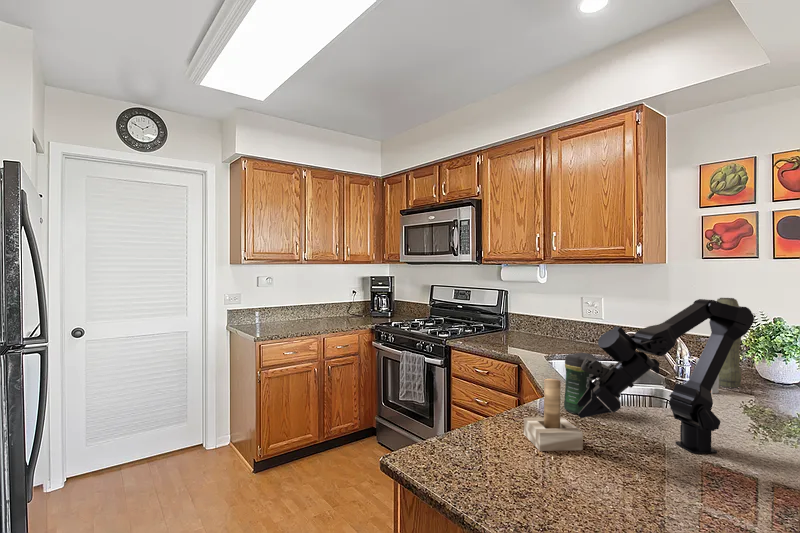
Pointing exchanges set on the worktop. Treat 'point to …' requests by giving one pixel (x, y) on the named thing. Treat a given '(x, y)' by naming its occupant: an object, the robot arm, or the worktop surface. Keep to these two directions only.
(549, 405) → the wooden stick
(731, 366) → the thermos
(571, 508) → the worktop surface
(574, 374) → the coffee jar
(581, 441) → the socket block
